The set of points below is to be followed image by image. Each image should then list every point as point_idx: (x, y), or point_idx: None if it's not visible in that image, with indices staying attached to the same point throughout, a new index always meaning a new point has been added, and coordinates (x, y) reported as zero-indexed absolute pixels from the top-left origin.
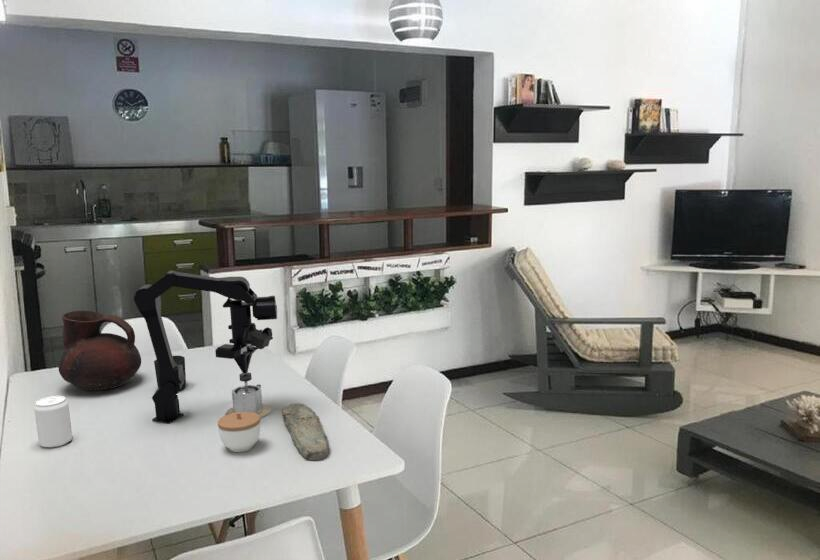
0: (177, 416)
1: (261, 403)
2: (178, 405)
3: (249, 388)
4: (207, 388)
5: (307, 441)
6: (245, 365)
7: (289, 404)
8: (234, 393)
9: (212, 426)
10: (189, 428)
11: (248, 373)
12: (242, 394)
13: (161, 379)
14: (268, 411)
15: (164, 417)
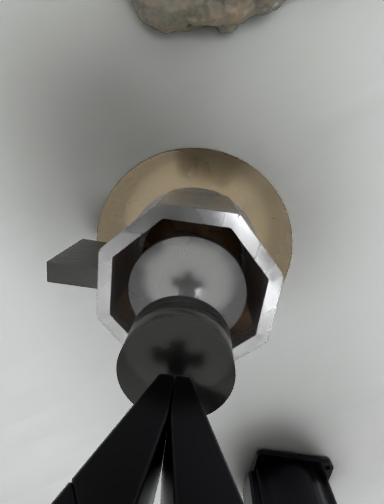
0: (284, 462)
1: (178, 192)
2: (264, 500)
3: (140, 296)
4: (14, 477)
5: None
6: (219, 465)
7: (157, 3)
8: (259, 340)
9: (350, 322)
10: (369, 388)
11: (145, 356)
12: (273, 286)
13: None
14: (176, 156)
15: (332, 492)
